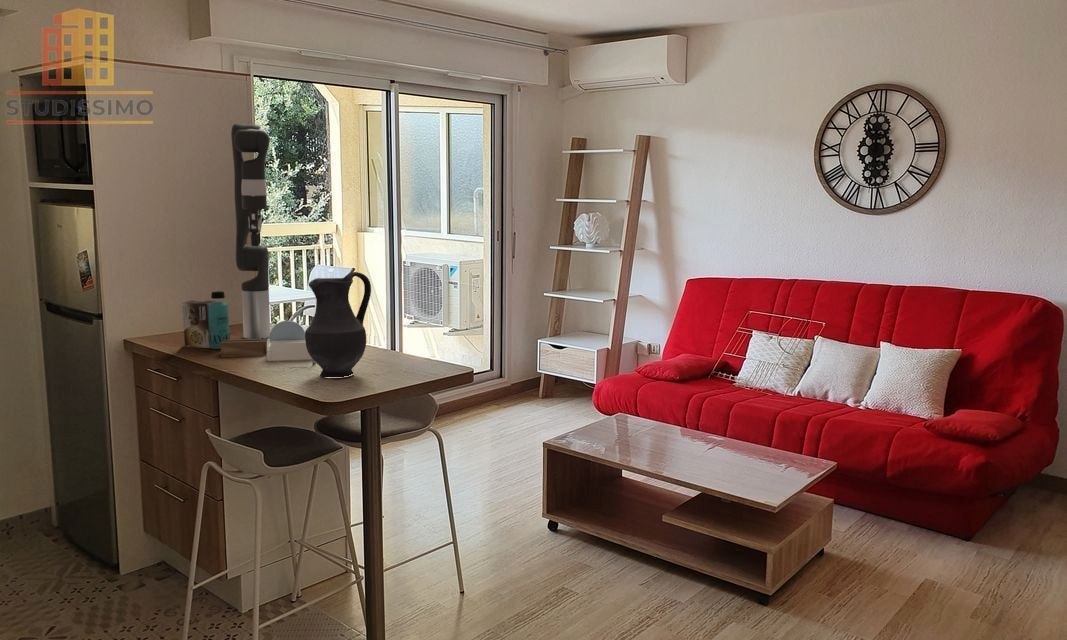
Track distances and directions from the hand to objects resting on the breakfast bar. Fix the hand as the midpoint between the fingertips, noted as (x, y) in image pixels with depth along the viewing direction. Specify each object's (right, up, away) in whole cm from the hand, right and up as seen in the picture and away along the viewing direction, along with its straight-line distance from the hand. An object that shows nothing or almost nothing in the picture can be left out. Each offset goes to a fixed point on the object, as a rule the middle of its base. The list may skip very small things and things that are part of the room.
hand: (256, 244), depth 268 cm
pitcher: (+33, -41, -21) cm, 56 cm away
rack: (+12, -37, -2) cm, 39 cm away
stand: (-3, -36, -1) cm, 36 cm away
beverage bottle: (-15, -35, +9) cm, 39 cm away
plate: (+10, -35, -3) cm, 37 cm away
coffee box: (-22, -34, +12) cm, 42 cm away
